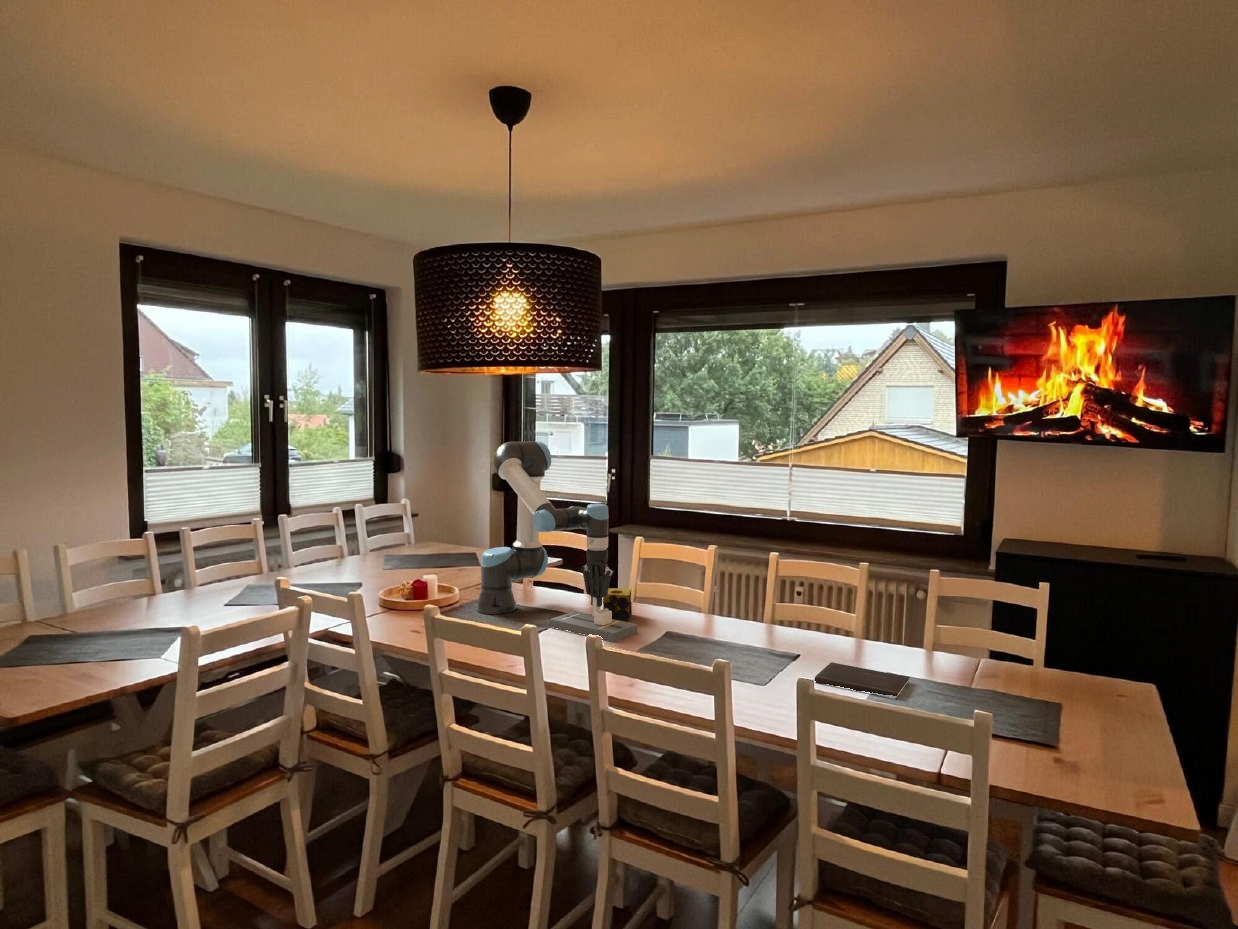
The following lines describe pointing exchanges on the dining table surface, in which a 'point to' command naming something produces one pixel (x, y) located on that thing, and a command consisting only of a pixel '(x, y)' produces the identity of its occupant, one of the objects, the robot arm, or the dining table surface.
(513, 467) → the robot arm
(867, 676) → the hardcover book
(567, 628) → the fader board
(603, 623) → the fader tab
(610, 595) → the candle
